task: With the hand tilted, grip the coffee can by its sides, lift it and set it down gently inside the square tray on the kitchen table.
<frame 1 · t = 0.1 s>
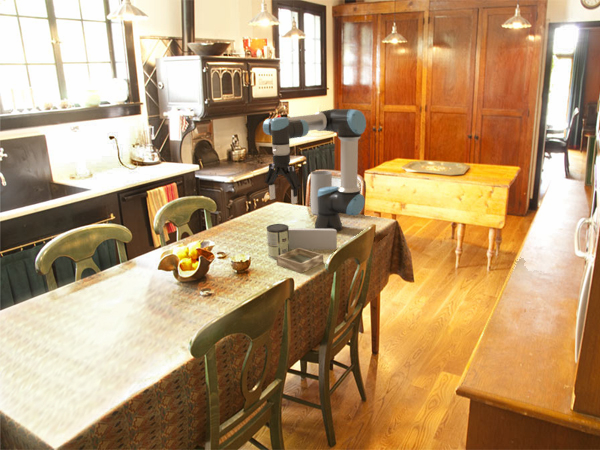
hand: (283, 201, 218), 28 cm above the table, tool pointing down, fingers open, 13 cm apart
decorative sign: (304, 248, 241), on the table
square tray: (300, 263, 221), on the table
coffee can: (278, 255, 232), on the table
cylinder vase: (321, 213, 300), on the table
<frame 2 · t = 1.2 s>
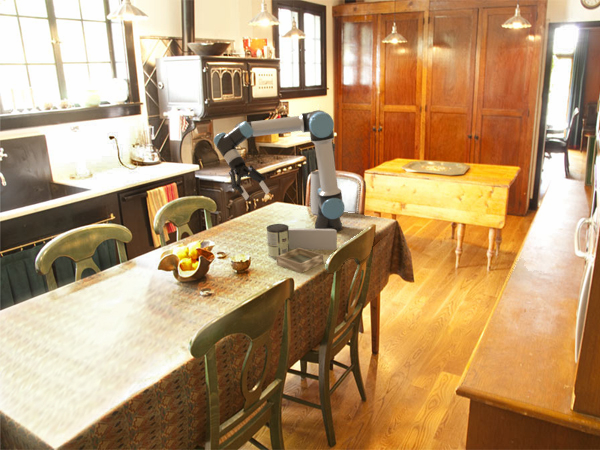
hand: (257, 195, 232), 27 cm above the table, tool tilted 45°, fingers open, 13 cm apart
nothing on the table moved.
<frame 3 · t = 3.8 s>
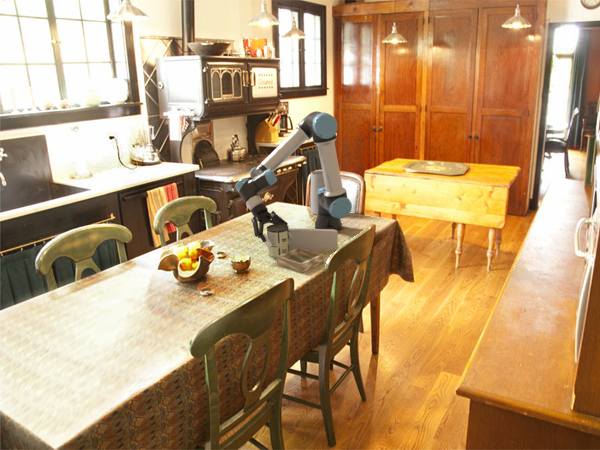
hand: (280, 243, 229), 7 cm above the table, tool tilted 45°, fingers open, 13 cm apart
nothing on the table moved.
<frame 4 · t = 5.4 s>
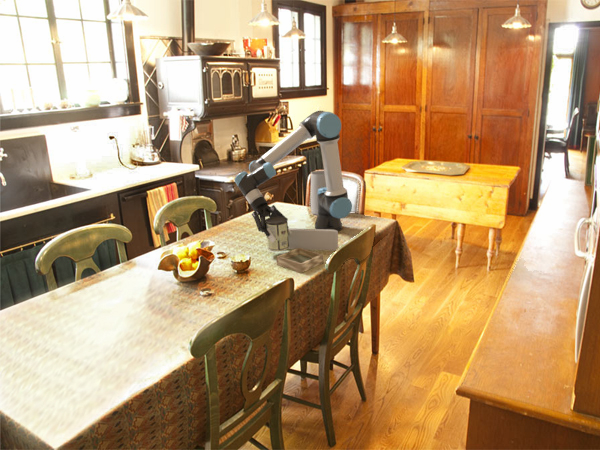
hand: (282, 237, 227), 9 cm above the table, tool tilted 45°, fingers closed on coffee can, 10 cm apart
coffee can: (278, 248, 231), point 3 cm above the table, touching gripper
everything else where it was.
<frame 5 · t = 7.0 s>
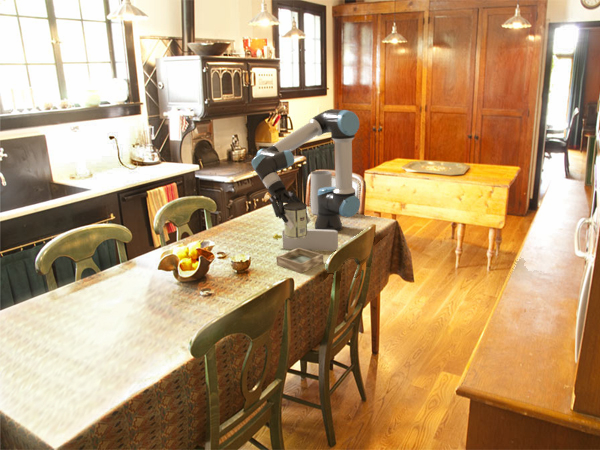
hand: (300, 224, 214), 19 cm above the table, tool tilted 45°, fingers closed on coffee can, 10 cm apart
coffee can: (295, 235, 218), point 13 cm above the table, touching gripper
when the fingers open (8 cm above the table, at t = 9.8 s): coffee can drops 1 cm, resting on square tray.
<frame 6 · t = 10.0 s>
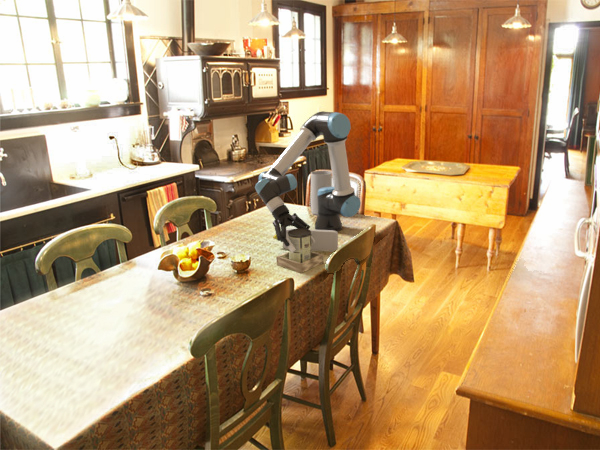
hand: (303, 247, 217), 9 cm above the table, tool tilted 45°, fingers open, 12 cm apart
coffee can: (300, 261, 221), point 1 cm above the table, touching square tray
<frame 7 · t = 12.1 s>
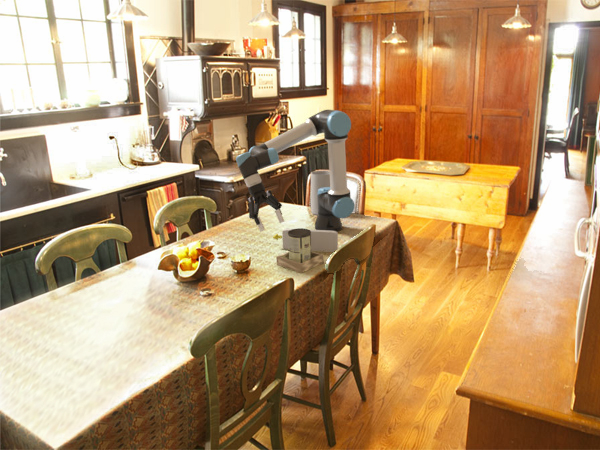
hand: (272, 226, 229), 14 cm above the table, tool tilted 25°, fingers open, 13 cm apart
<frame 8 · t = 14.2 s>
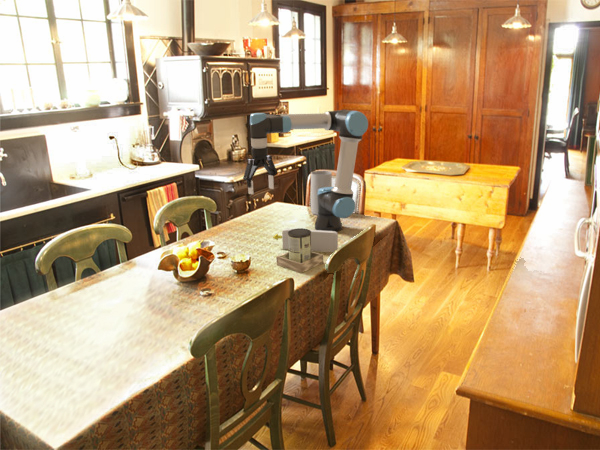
hand: (261, 191, 234), 29 cm above the table, tool pointing down, fingers open, 13 cm apart
at the end: coffee can inside the target area on the square tray (0.2 cm from its centre), point 1.0 cm above the square tray's base; coffee can tilted 0°; the gripper is holding nothing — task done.
